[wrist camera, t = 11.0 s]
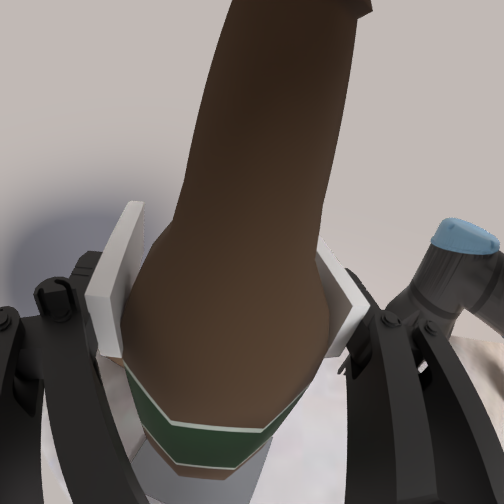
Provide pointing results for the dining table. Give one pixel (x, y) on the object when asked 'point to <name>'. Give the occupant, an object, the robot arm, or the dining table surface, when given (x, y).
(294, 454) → the dining table surface
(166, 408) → the beer bottle
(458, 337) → the dining table surface
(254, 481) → the coaster
